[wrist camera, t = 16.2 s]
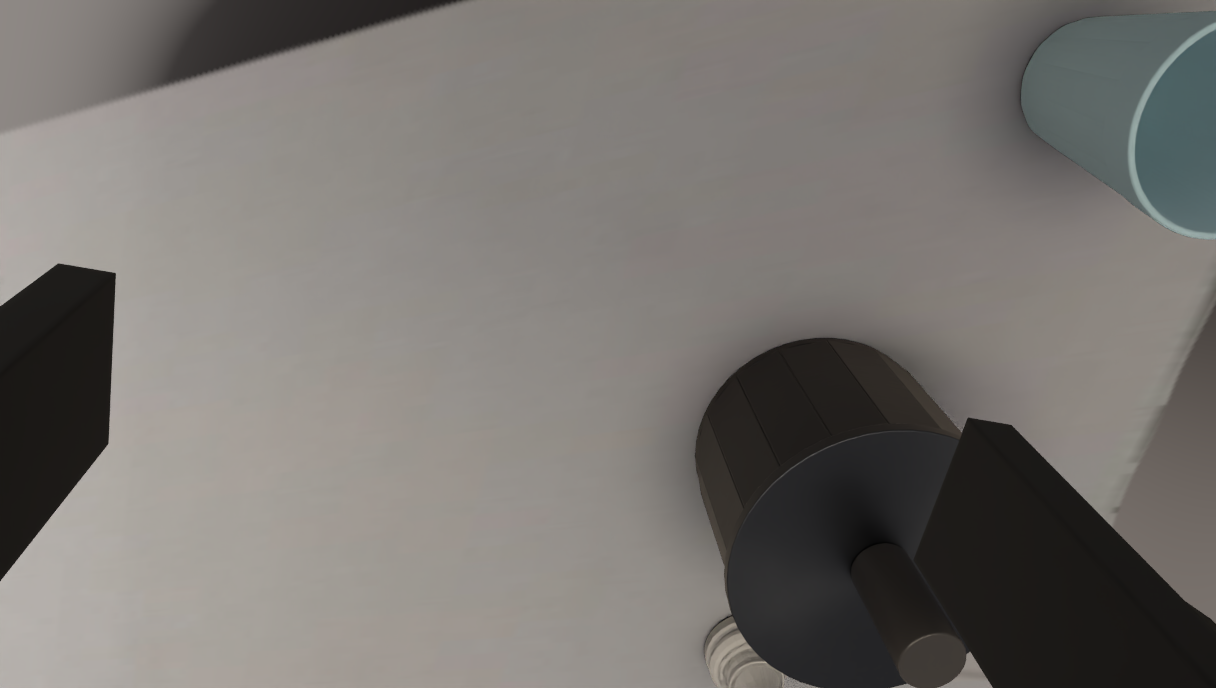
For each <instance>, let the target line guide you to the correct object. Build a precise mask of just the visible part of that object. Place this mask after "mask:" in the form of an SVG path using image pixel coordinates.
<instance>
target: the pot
mask: <svg viewBox="0 0 1216 688" xmlns="http://www.w3.org/2000/svg"><path fill="white" fill-rule="evenodd" d="M896 423H907V424H917V425H926V426H930V427H934V428H938V429H943V430H946V431H949V432H951V433H954V434H956V435H959V436H961V435H962V433H961V432H960V430H959V429H958V428H957V427H956V426H955V425H954V424H953V422H952V421H951V420H950V419H949V418H948V417H947V416H946V414H945V413H944V412H943V411H942V410H941V409H940V408H939V406H938V405H937V404H936V403H935V402H934V401H933V400H932V398H931V397H930V396H929V395H928V394H927V393H926V392H925V390H924V389H923V388H922V387H921V386H920V385H919V384H918V382H917V381H916V380H915V379H914V378H913V377H912V376H911V374H910V373H909V372H908V371H906V370H905V369H903V368H902V367H900V366H899V365H898V364H897V363H896V362H894V361H893V360H892V359H891V358H889V357H888V356H886V355H885V354H883V353H881V352H879V351H878V350H876V349H874V348H871V347H869V346H866V345H864V344H861V343H857V342H853V341H849V340H842V339H833V338H820V339H809V340H801V341H797V342H793V343H789V344H785V345H782V346H780V347H777V348H775V349H772V350H769V351H767V352H766V353H764V354H762V355H760V356H758V357H756V358H754V359H753V360H752V361H750V362H749V363H747V364H746V365H744V366H743V367H741V368H740V369H739V370H738V371H737V372H736V373H735V374H734V375H732V376H731V377H730V378H729V379H728V380H727V381H726V383H725V384H724V385H723V386H722V387H721V388H720V389H719V391H718V392H717V394H716V395H715V397H714V398H713V400H712V401H711V403H710V404H709V406H708V408H707V410H706V412H705V414H704V416H703V419H702V422H701V425H700V428H699V432H698V436H697V441H696V453H695V459H696V470H697V474H698V478H699V483H700V489H701V495H702V498H703V501H704V504H705V507H706V510H707V514H708V517H709V520H710V523H711V526H712V529H713V532H714V535H715V538H716V541H717V544H718V548H719V551H720V554H721V557H722V560H723V563H724V566H725V556H726V552H727V548H728V543H729V539H730V536H731V534H732V531H733V529H734V526H735V523H736V521H737V519H738V517H739V516H740V514H741V512H742V510H743V508H744V507H745V505H746V503H747V502H748V501H749V499H750V498H751V497H752V495H753V494H754V492H755V491H756V490H757V489H758V487H759V486H760V485H761V484H762V483H763V482H764V481H765V480H766V479H767V478H768V477H769V476H770V475H771V474H772V473H773V472H774V471H775V470H776V469H778V468H779V467H780V466H781V465H782V464H784V463H785V462H786V461H787V460H789V459H790V458H792V457H793V456H795V455H796V454H798V453H799V452H801V451H802V450H804V449H806V448H808V447H810V446H811V445H813V444H815V443H817V442H819V441H821V440H823V439H826V438H828V437H831V436H834V435H836V434H839V433H842V432H845V431H849V430H852V429H856V428H860V427H865V426H872V425H879V424H896Z"/></svg>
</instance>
